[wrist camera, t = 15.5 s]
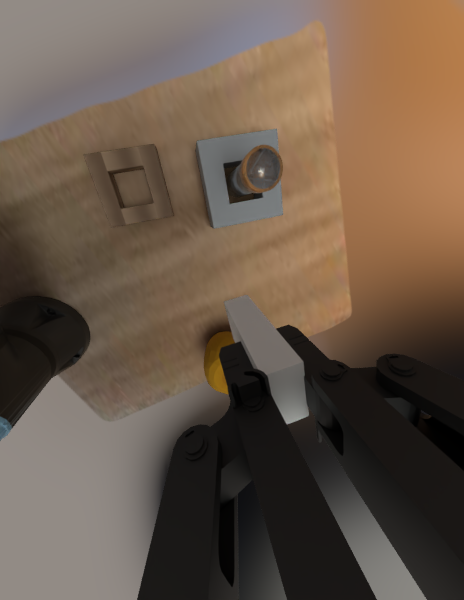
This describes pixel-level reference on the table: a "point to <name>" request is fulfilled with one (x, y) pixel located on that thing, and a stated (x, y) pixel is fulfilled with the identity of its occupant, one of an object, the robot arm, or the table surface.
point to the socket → (211, 165)
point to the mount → (124, 161)
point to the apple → (216, 361)
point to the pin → (255, 172)
